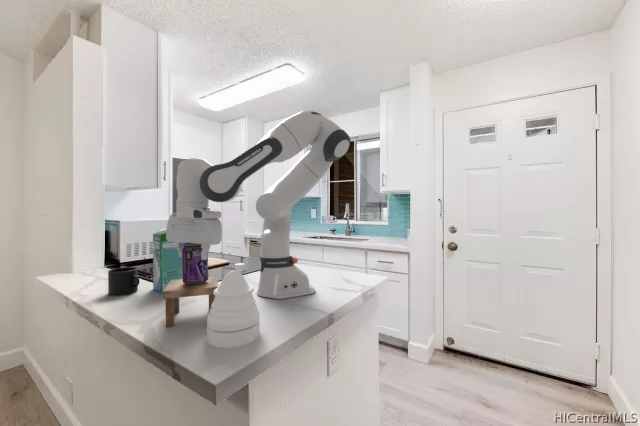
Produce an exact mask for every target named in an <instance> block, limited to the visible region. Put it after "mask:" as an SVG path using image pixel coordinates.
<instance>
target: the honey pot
mask: <svg viewBox="0 0 640 426" xmlns="http://www.w3.org/2000/svg"><path fill="white" fill-rule="evenodd" d="M245 265H246V264H245V263H242V262H241V263H240V262H239V263H234V268H235V269H233V270H230V271H229V272H228V273H226V275H225V276H224V277H223V278H222V281H221V282H220V285H218V288H216V289H215V290H214V291H213V294H214V295H215V298H214V301H213V303H212V305H211V307H212V308H211V309H210V314H209V313H208V315H207V319H206V341H207V343H208V345H210V346H212V347H215V348H223V349H224V348H236V347H241V346H245V345H247V344H250V343H252V342H254V341H256V340H257V338H259V337H260V333H261V324H260V323H261V322H260V311H259V309H258V306H257V304H256V299H255V298H254V295H253V292H254V291H255V288H254V287H253V286H252V285H251V284H249V283H248V282H247V280H246V278H245V277H244V276H243V274H242V273H241V272H242V271H244V270H245Z"/></svg>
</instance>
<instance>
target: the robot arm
mask: <svg viewBox="0 0 640 426" xmlns="http://www.w3.org/2000/svg"><path fill="white" fill-rule="evenodd" d="M309 145H310V146H311V147H310V149H309V150H308V151H307V152H306V153H305V154H304V155H302V156H301V157H300V158H299V159H298V160H297V162H296V163H295V164H294V165H293V166H292V167H290V169H289V170H288V171H287V172H286V173H285V174H284V175H283V176H282V177H281V178H279V179H278V180H277V181H276V182H275V183H273V184H272V185H271V186H270V187H269V188H268V189H267V190H266V191H265V192H264V193H262V194H261V195H260V196H258V198H257V199H256V202H255V209H256V213H257V214H258V215H259V216H260V218H262V219H263V224H262V231H261V235H260V256H259V265H258V267H259V283H258V287H257V290H256V295H257V296H260V297H263V298H271V299H276V300H283V299H290V298H295V297H301V296H306V295H312V294H314V293H316V289H315V287H314V286H313V285H312V284H310V281H309V280H310V279H309V277H308V275H307V273H306V272H304V271H303V270H302V269H301V268H299V267H298V266H296V265H295V264H297V263H298V261H299V259H298V258H297V257H296V256H295V257H294V256H291V255H290V254H291V253H290V252H291V251H290V245H291V244H290V241H291V240H290V235H291V234H290V233H291V222H292V208H293V207H294V206H295V205H296V204H297V203H298V202H299V201H300V200H302V199H303V198H304V197H305V196H307V194H308V193H309V192H310V191H311V190H312V189H313V188H314V187H315V185H317V184H318V183H319V182H320V181H321V179H322V178H324V176H325V175H326V174H327V172H328V171H329V169H330V168H331V167H332V165H333V163H334V162H335V161H336V160H340V159H341V158H343V157H344V156H346V154H347V153H348V152H349V150H350V147H351V137H350V136H349V134H348V133H347V131H346V130H344V129H342V128H341V127H340V126H339V125H337V124H336V123H335V122H333V120H330V119H328V118H327V117H326V116H323V115H322V114H321V113H318V112H316V111H310V110H309V111H307V110H302V111H300V112H298V113H295V114H293V115H291V116H289V117H288V118H286V119H284V120H283V121H281V122H280V123H278V124H277V125H276V126H274V127H273V128H271V129H270V130H269V131H268V132H267V133H266V134H265V135H264V136H263V138H261V139H260V140H259V141H258V142H257V143H256V144H254V145H253V146H252V147H250V148H248V149H247V150H245V151H244V152H243V153H241V154H239V155H238V156H237V157H235V158H234V159H231V160H230V161H228V162H224V163H219V164H215V165H213V163H210V162H209V161H207V159H205V158H201V157H191V158H186V159H184V160H181V162H180V163H179V164H178V167H177V172H176V186H175V187H176V191H177V198H176V211H175V212H172V213H171V214H170V216H169V217H168V220H167V222H166V223H167V224H166V228H167V230H166V239H167V241H168V242H176V247H177V249H178V251H179V257H182V249H183V247H184V244H186V243H191V244H201V248H203V249H202V252H201V254H200V259H201V260H205V259H207V253H209V251H210V249H211V246H214V245H215V246H217V245H219V244H220V243H221V242H222V239H223V227H222V221H221V220H220V219H222V212H221V211H220V210H218V209H215V208H213V207H211V206H209V203H210V202H209V201H212V202H213V203H214V202H216V203H227V202H230V201H233V200H234V199H235V198H237V197H238V195H239V193H240V191H241V185H242V184H243V182H244V181H245V180H247V179H248V178H250V177H251V176H253V175H254V174H256V173H257V172H258V171H259V170H261V169H262V168H263V167H265V166H267V165H270V164H273V163H283V162H286V161H287V160H290V159H292V158H293V157H295V156H297V155H298V154H299V153H301V152H302V151H303V150H304V149H306V148H307V147H308V146H309Z"/></svg>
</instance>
